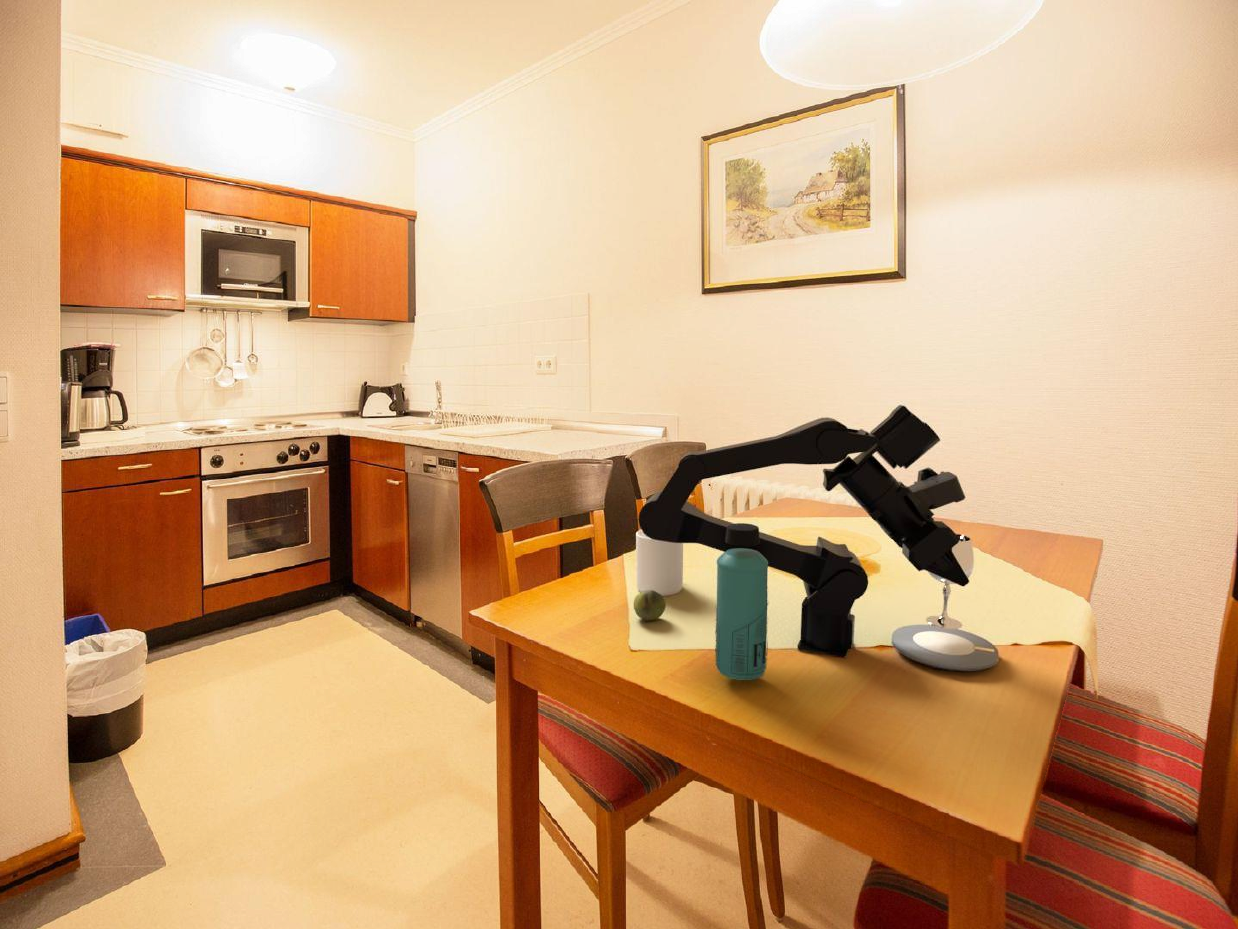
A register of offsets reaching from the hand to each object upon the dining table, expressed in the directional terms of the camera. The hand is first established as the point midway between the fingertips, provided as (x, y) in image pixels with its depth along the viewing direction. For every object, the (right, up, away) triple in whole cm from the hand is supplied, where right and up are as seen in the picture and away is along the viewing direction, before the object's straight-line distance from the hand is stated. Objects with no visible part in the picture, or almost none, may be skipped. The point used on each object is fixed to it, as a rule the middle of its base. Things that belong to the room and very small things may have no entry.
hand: (958, 576), depth 87 cm
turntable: (-1, -11, +2) cm, 11 cm away
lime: (-41, -10, +14) cm, 44 cm away
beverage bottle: (-30, -12, -5) cm, 33 cm away
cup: (-38, -7, +31) cm, 50 cm away
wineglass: (-1, -7, +1) cm, 7 cm away
